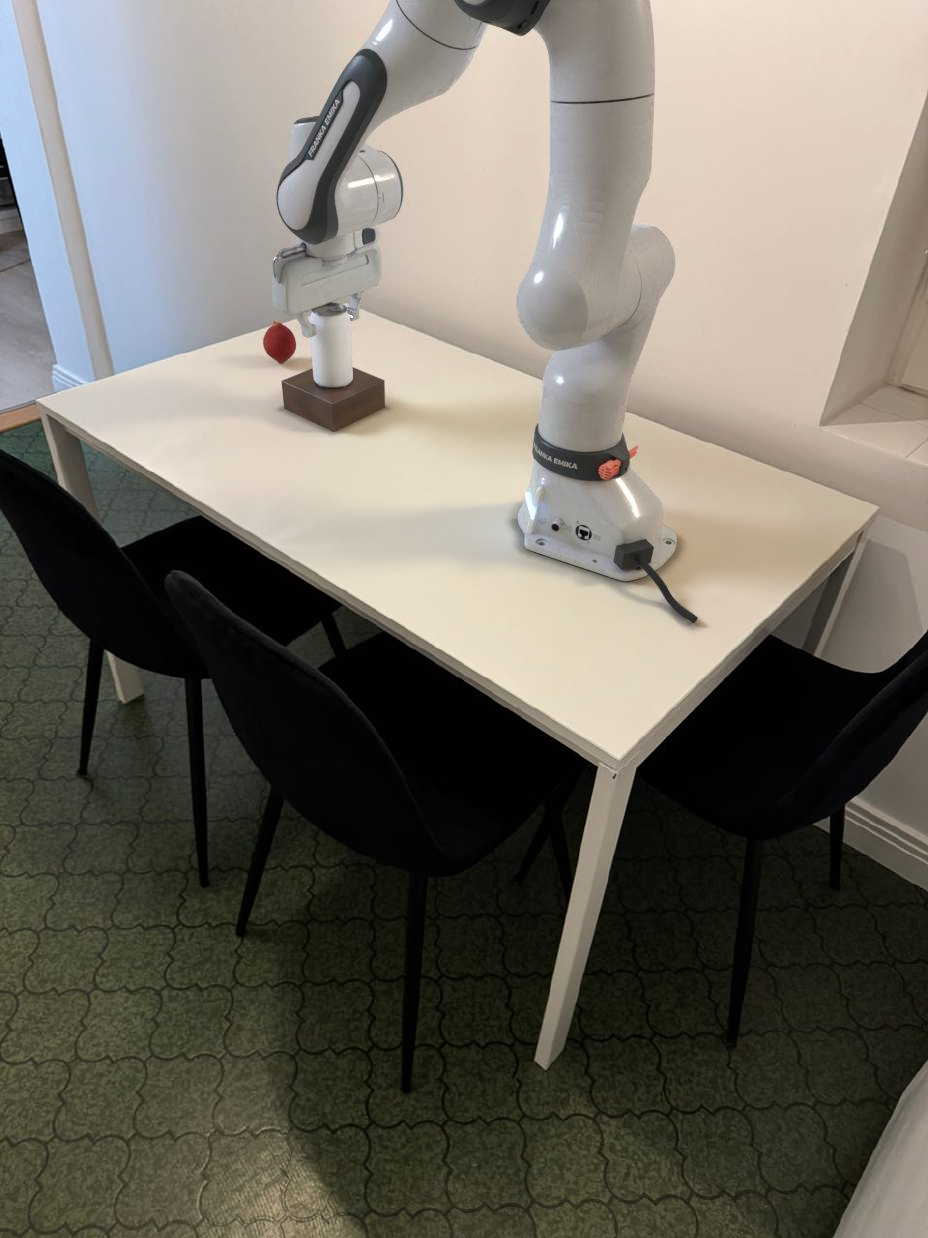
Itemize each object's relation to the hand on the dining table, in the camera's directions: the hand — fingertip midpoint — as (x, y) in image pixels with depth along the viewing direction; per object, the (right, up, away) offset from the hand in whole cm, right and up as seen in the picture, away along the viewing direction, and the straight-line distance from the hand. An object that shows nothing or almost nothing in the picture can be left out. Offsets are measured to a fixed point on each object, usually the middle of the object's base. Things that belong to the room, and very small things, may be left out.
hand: (331, 327), depth 143 cm
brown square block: (-1, -11, +9) cm, 14 cm away
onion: (-12, 0, +22) cm, 25 cm away
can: (0, -7, +6) cm, 9 cm away
